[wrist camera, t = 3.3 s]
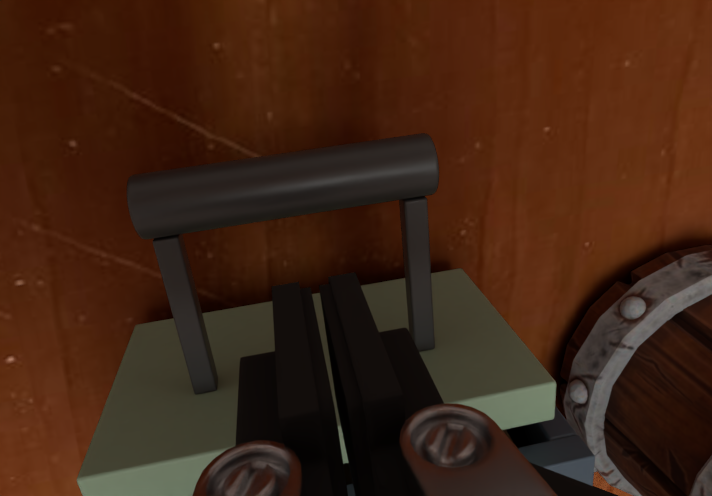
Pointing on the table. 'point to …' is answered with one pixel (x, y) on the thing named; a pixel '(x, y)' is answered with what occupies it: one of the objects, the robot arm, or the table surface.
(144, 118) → the table surface
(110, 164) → the table surface
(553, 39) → the table surface
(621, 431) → the mug
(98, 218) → the table surface
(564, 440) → the cabinet
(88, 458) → the drawer
